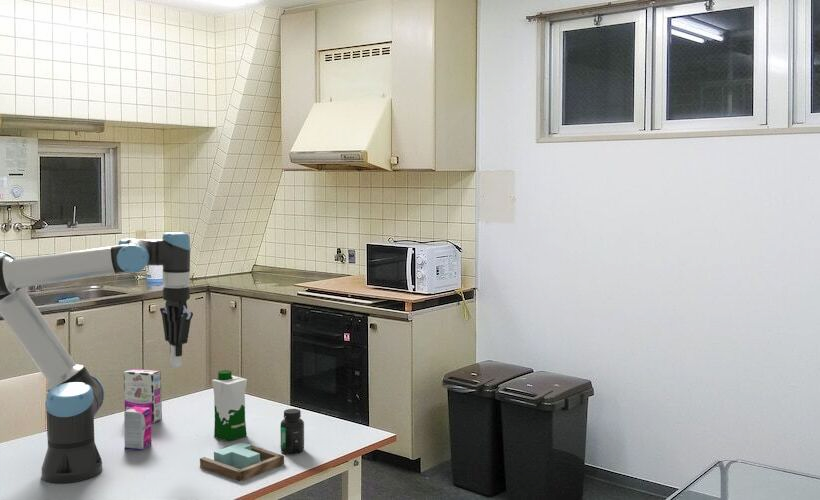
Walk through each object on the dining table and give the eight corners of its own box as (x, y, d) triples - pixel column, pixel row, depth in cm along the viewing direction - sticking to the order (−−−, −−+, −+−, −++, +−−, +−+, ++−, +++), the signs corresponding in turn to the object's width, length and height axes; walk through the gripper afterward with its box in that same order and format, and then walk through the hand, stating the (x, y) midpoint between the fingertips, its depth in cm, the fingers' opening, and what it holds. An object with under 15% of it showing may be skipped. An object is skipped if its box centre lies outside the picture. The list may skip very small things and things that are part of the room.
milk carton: (231, 430, 254) (230, 367, 252) (251, 435, 248) (250, 372, 246) (209, 437, 247) (208, 373, 245) (229, 443, 241) (228, 378, 239)
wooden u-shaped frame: (239, 481, 212) (239, 472, 212) (200, 467, 222) (199, 458, 222) (284, 464, 224) (284, 455, 224) (244, 451, 234) (244, 443, 234)
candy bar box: (162, 419, 264) (161, 370, 262) (153, 424, 259) (152, 374, 257) (133, 416, 267) (132, 367, 265) (124, 420, 262) (122, 371, 261)
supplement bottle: (282, 455, 231) (281, 415, 230) (279, 448, 238) (279, 408, 236) (305, 453, 233) (305, 413, 232) (302, 446, 239) (302, 406, 238)
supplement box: (142, 451, 234) (141, 412, 233) (124, 449, 235) (122, 411, 234) (152, 444, 240) (151, 407, 239) (134, 442, 241) (133, 405, 240)
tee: (240, 475, 217) (240, 460, 216) (214, 465, 223) (213, 451, 223) (268, 464, 224) (268, 450, 224) (242, 455, 231) (241, 442, 231)
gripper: (201, 287, 230) (200, 368, 232) (174, 282, 238) (173, 360, 240) (178, 289, 224) (178, 372, 226) (151, 284, 232) (151, 364, 234)
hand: (176, 366), depth 233 cm, fingers closed
